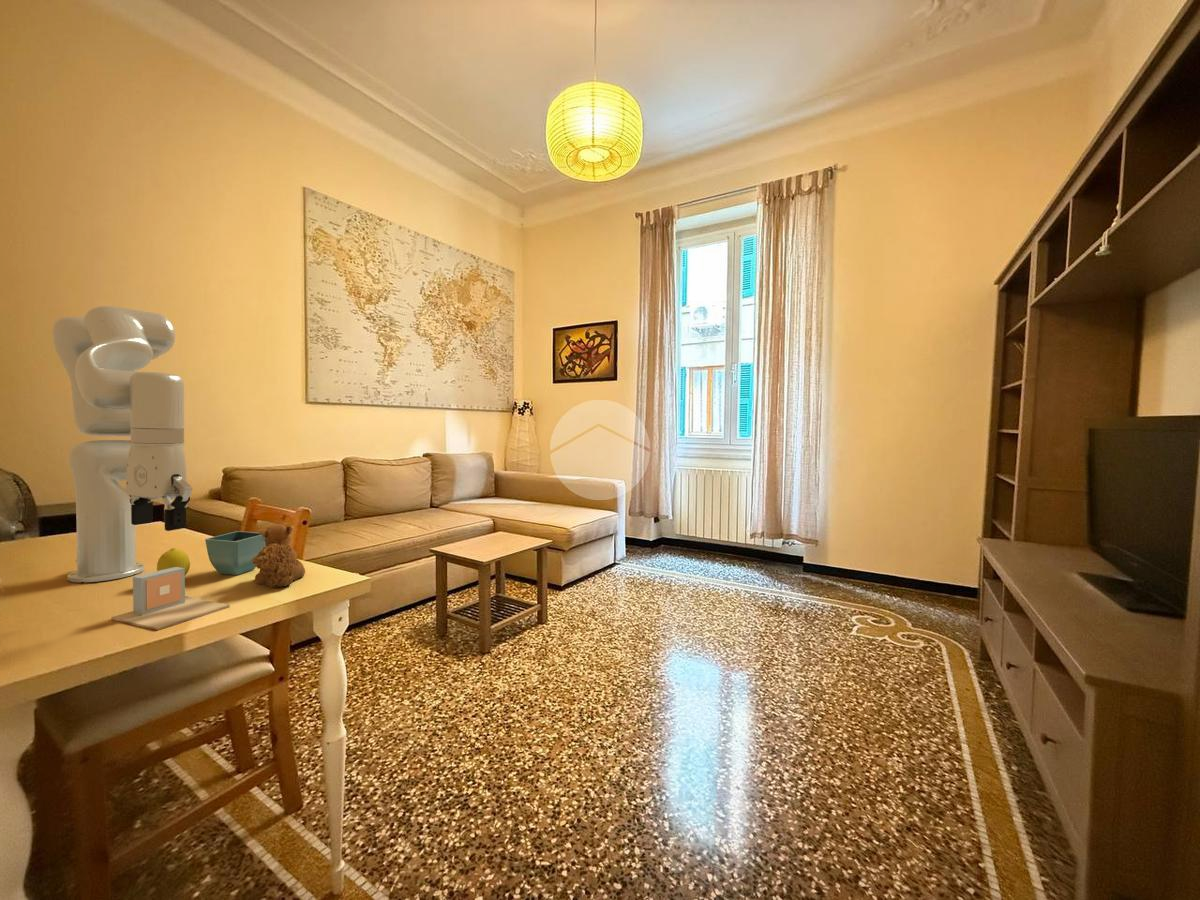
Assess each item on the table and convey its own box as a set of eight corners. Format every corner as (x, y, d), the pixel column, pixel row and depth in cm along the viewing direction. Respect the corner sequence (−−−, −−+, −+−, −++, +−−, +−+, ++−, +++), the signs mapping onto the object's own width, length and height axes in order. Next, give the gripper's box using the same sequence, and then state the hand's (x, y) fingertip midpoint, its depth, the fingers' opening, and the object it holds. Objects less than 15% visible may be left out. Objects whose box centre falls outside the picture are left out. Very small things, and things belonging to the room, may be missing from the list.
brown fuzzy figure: (305, 571, 119) (305, 519, 118) (303, 588, 106) (303, 530, 106) (256, 577, 114) (256, 522, 113) (248, 595, 101) (247, 534, 101)
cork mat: (111, 619, 88) (111, 617, 88) (185, 597, 99) (185, 596, 99) (157, 630, 83) (157, 628, 83) (229, 606, 95) (229, 604, 95)
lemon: (170, 588, 104) (170, 552, 104) (150, 585, 106) (150, 550, 105) (196, 580, 110) (196, 546, 109) (177, 578, 111) (176, 544, 111)
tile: (133, 613, 90) (132, 576, 89) (176, 601, 96) (176, 566, 96) (142, 615, 89) (142, 578, 88) (185, 602, 95) (185, 568, 95)
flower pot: (235, 579, 112) (235, 541, 111) (204, 576, 113) (203, 538, 113) (268, 568, 120) (267, 533, 120) (238, 565, 122) (237, 530, 122)
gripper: (104, 435, 90) (105, 525, 91) (164, 440, 85) (165, 536, 86) (152, 435, 97) (153, 518, 98) (210, 440, 92) (210, 527, 93)
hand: (158, 526), depth 92 cm, fingers open, 9 cm apart
